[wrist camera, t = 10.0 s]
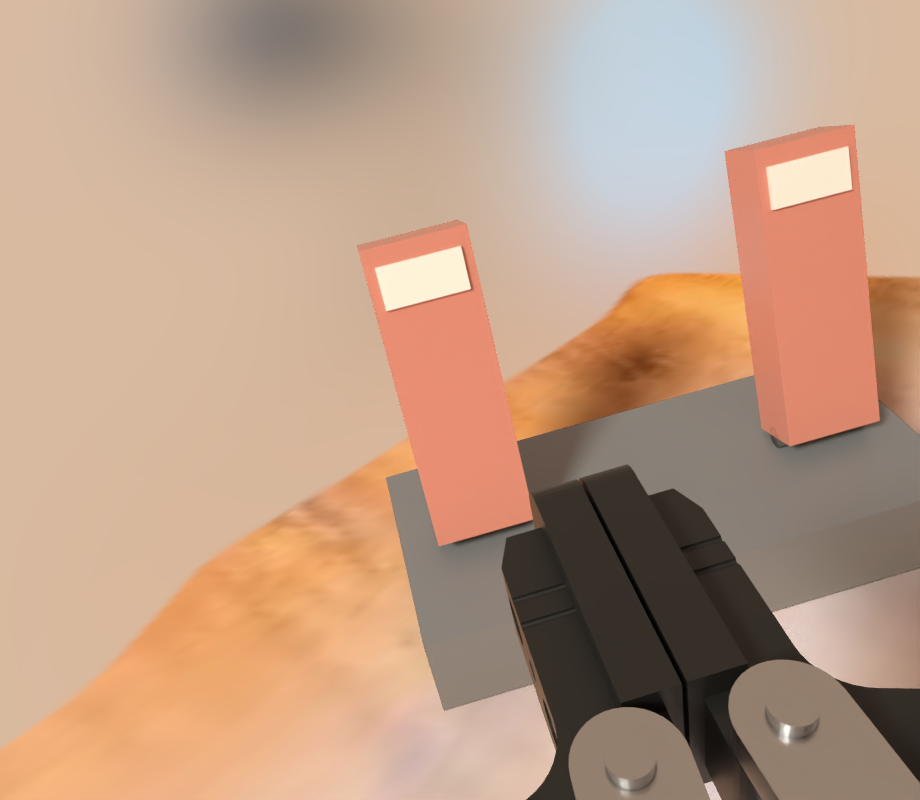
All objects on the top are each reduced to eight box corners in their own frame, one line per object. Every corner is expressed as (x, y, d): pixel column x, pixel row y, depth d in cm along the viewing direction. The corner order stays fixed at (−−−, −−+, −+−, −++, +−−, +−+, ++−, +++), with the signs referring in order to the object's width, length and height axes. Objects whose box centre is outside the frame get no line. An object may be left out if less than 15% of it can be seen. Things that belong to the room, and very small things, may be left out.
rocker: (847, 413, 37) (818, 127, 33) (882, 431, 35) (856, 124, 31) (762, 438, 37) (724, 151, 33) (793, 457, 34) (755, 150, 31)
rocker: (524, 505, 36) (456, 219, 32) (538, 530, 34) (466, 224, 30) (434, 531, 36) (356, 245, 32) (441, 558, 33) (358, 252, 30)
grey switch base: (818, 416, 43) (824, 351, 41) (957, 556, 35) (975, 484, 32) (403, 534, 41) (385, 473, 39) (443, 710, 33) (423, 646, 31)
